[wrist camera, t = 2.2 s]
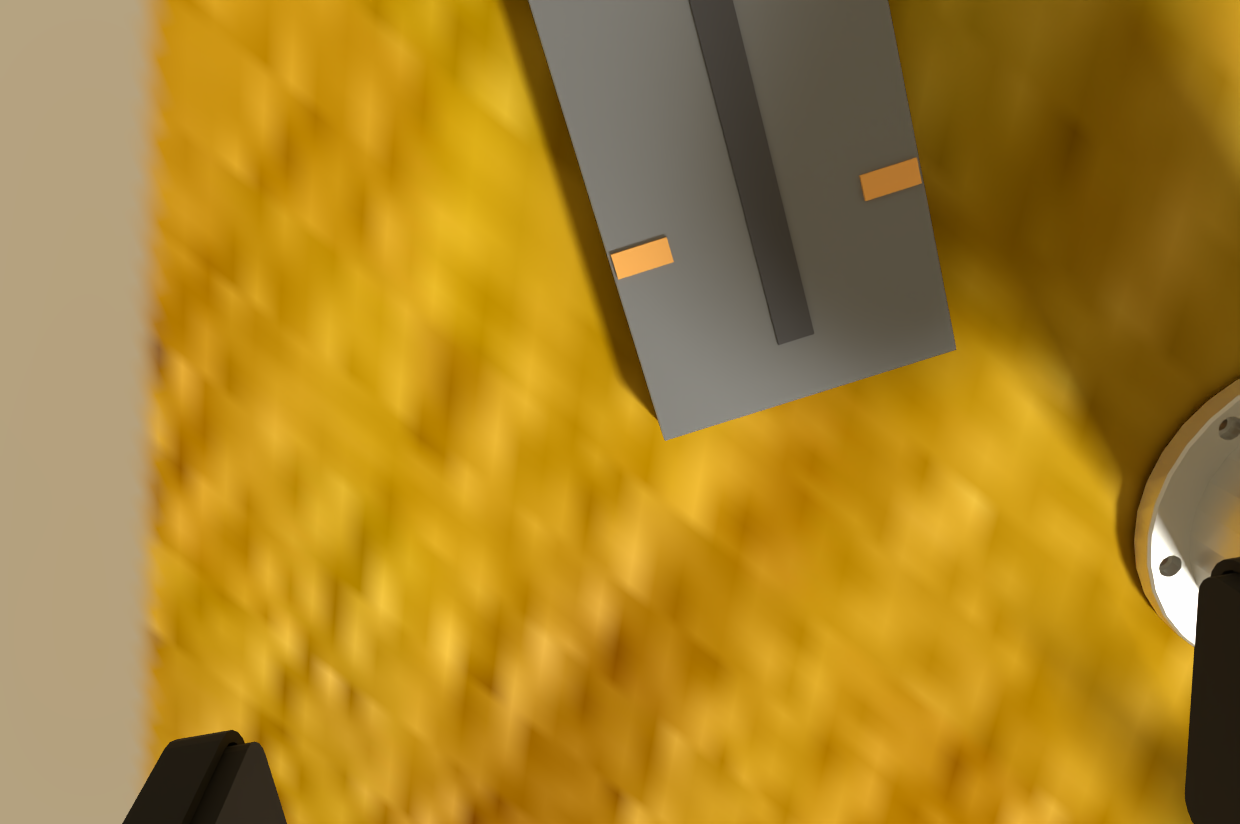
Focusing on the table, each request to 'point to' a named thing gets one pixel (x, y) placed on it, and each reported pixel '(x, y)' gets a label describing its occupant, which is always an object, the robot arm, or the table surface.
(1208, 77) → the table surface
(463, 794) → the table surface
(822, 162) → the rail board
